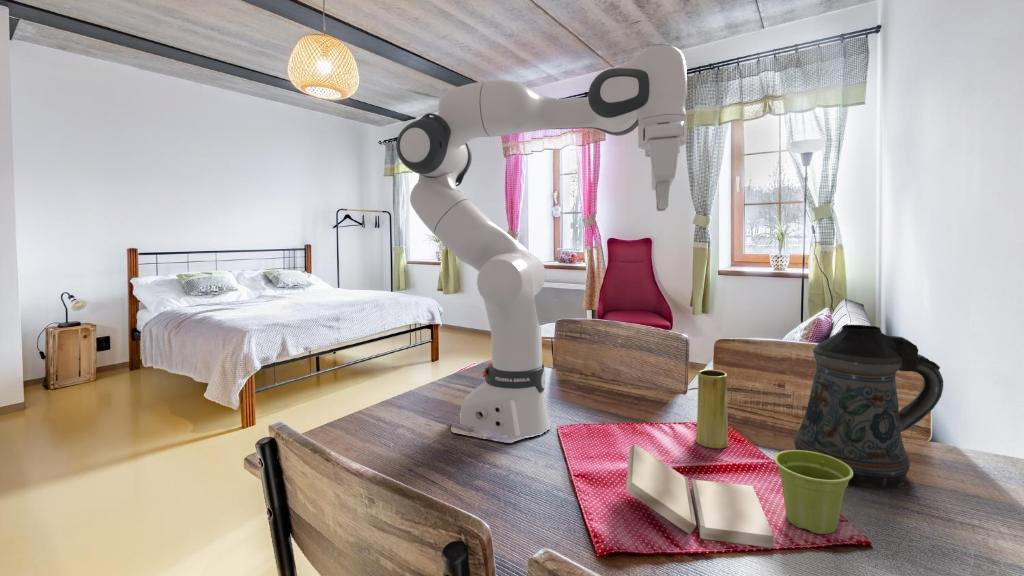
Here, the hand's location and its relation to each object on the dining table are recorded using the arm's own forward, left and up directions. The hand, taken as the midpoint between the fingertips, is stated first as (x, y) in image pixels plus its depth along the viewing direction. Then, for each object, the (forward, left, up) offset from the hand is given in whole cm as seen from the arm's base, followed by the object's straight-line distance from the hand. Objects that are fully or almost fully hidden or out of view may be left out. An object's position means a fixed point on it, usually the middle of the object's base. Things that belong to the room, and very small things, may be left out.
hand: (662, 209), depth 91 cm
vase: (+9, +1, -47) cm, 48 cm away
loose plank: (-2, -25, -44) cm, 50 cm away
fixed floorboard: (+9, -25, -47) cm, 54 cm away
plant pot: (+20, -24, -47) cm, 56 cm away
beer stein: (+33, -4, -47) cm, 57 cm away
